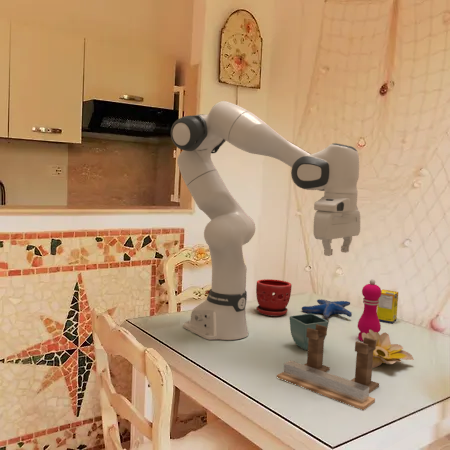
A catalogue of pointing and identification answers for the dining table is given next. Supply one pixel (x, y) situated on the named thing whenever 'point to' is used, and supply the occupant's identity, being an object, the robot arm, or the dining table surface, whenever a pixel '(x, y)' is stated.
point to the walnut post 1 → (316, 347)
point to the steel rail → (327, 381)
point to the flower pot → (304, 327)
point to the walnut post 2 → (365, 363)
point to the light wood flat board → (328, 393)
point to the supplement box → (387, 306)
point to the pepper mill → (369, 310)
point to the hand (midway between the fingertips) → (336, 253)
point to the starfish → (328, 308)
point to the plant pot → (273, 296)
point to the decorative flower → (386, 350)
